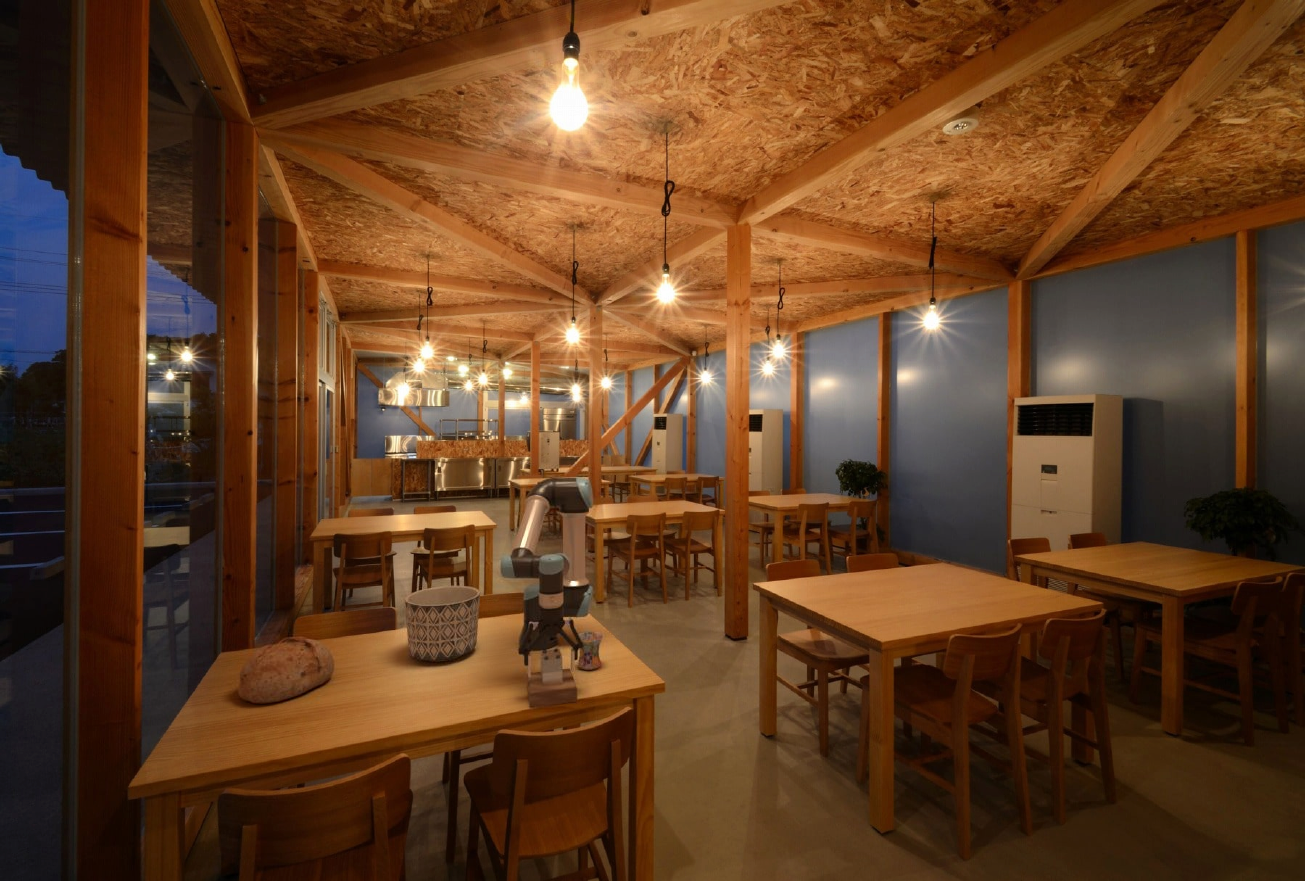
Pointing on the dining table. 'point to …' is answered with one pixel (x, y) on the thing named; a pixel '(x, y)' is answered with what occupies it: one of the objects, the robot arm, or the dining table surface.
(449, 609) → the planter
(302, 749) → the dining table surface
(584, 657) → the mug
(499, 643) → the dining table surface
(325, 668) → the bread
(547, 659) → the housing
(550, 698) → the stand
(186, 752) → the dining table surface
